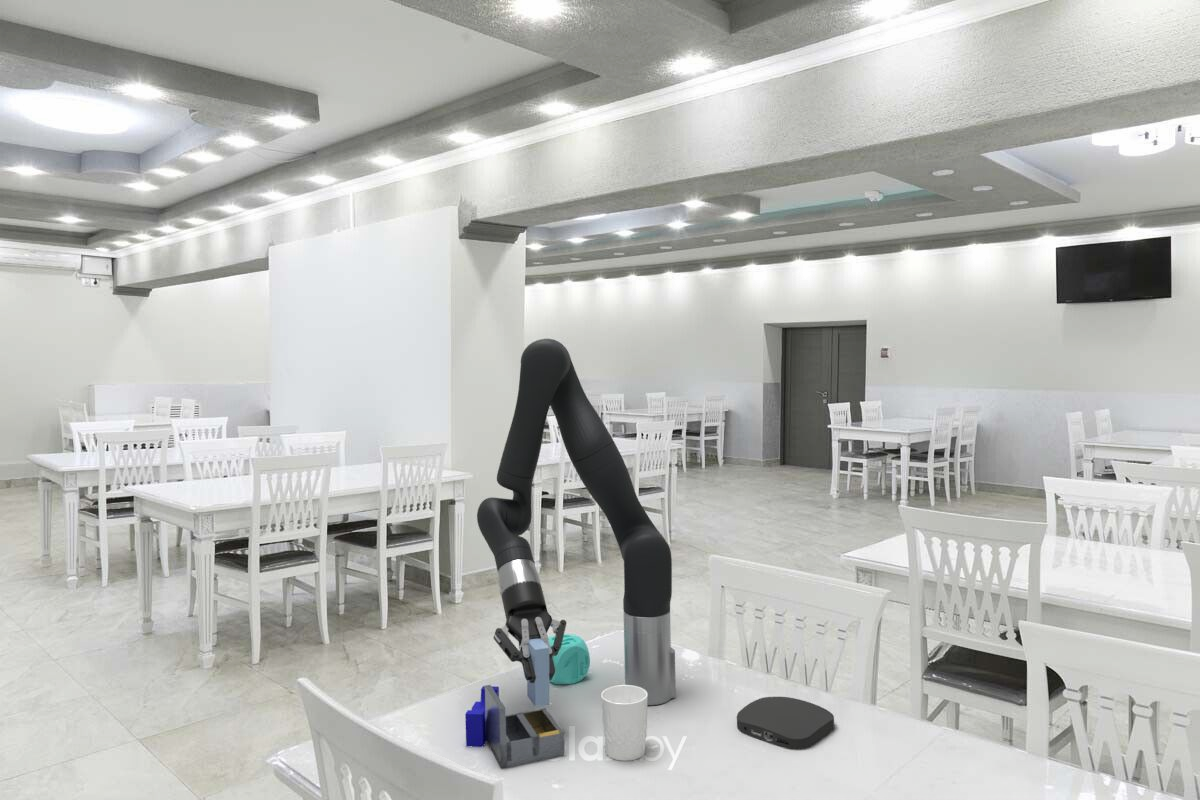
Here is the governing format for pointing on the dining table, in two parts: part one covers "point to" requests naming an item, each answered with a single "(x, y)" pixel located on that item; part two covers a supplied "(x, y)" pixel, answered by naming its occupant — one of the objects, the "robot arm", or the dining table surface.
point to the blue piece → (477, 721)
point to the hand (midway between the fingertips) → (541, 679)
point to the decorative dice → (570, 660)
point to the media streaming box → (785, 722)
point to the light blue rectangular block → (539, 673)
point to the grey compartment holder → (520, 734)
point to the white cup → (624, 721)
